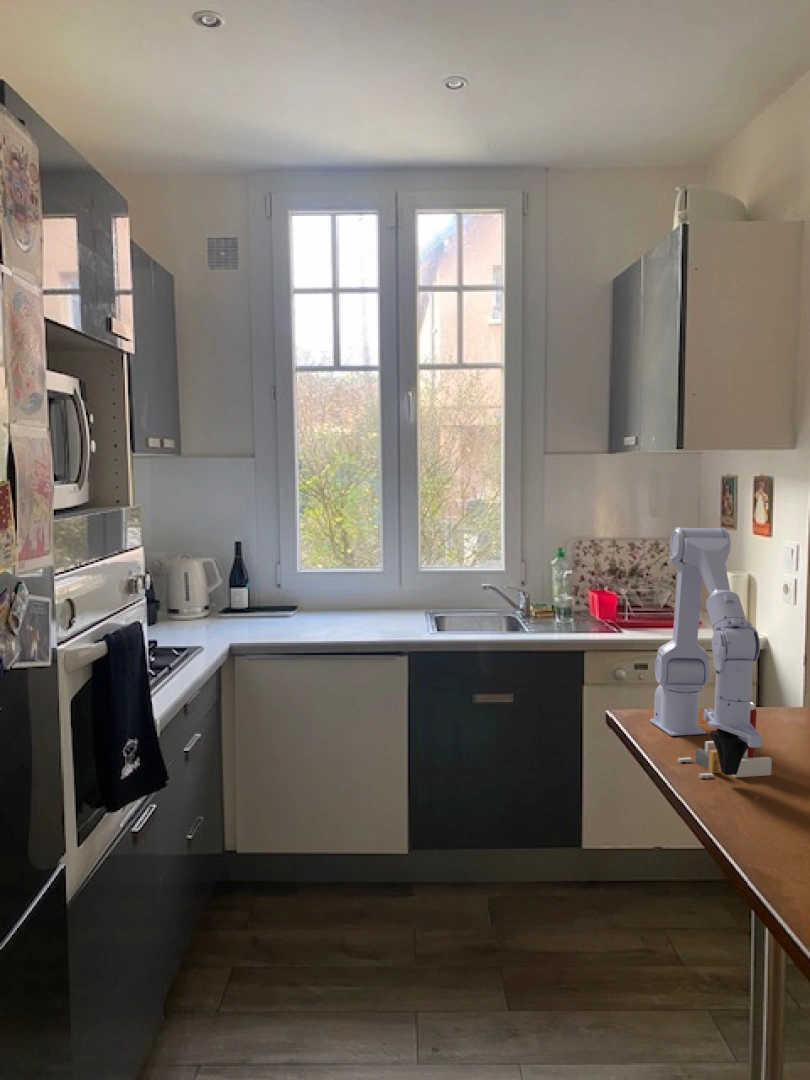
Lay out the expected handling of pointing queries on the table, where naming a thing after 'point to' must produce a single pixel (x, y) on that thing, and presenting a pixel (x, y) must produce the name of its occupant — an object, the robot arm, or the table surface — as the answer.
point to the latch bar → (708, 759)
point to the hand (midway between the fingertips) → (729, 773)
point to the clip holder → (748, 764)
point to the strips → (702, 775)
